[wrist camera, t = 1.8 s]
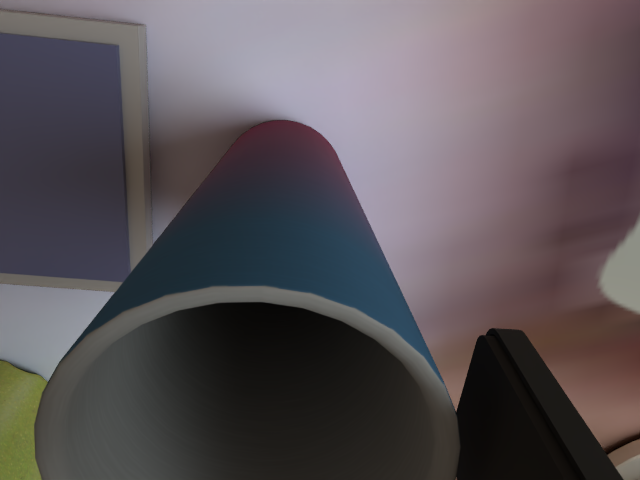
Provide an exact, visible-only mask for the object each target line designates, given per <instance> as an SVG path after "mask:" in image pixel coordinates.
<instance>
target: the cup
mask: <svg viewBox="0 0 640 480" xmlns="http://www.w3.org/2000/svg"><path fill="white" fill-rule="evenodd" d="M34 440H35V459H36V462H37V466H38V469H39V472H40V475H41V479H42V480H455V479H456V475H457V468H458V461H459V455H460V448H461V444H460V436H459V427H458V418H457V414H456V411H455V409H454V406H453V404H452V401H451V399H450V396H449V393H448V391H447V388H446V386H445V384H444V381H443V379H442V377H441V375H440V373H439V371H438V369H437V367H436V364H435V362H434V360H433V358H432V356H431V354H430V352H429V350H428V347H427V345H426V343H425V341H424V339H423V337H422V335H421V333H420V330H419V328H418V326H417V324H416V322H415V320H414V318H413V316H412V313H411V311H410V309H409V307H408V305H407V303H406V301H405V298H404V296H403V294H402V292H401V290H400V288H399V286H398V284H397V281H396V279H395V277H394V275H393V273H392V271H391V269H390V267H389V264H388V262H387V260H386V258H385V256H384V254H383V252H382V250H381V247H380V245H379V243H378V241H377V239H376V237H375V235H374V233H373V230H372V228H371V226H370V224H369V222H368V220H367V218H366V216H365V213H364V211H363V209H362V207H361V205H360V203H359V201H358V199H357V196H356V194H355V192H354V190H353V188H352V186H351V184H350V181H349V179H348V177H347V175H346V173H345V171H344V169H343V167H342V164H341V162H340V160H339V158H338V156H337V154H336V152H335V150H334V149H333V147H332V146H331V144H330V143H329V142H328V141H327V140H326V139H325V138H324V137H323V136H322V135H321V134H320V133H318V132H317V131H315V130H314V129H312V128H311V127H309V126H306V125H304V124H301V123H298V122H293V121H288V120H275V121H270V122H265V123H262V124H259V125H257V126H255V127H252V128H251V129H249V130H248V131H246V132H245V133H244V134H242V135H241V136H240V137H239V138H238V139H237V140H236V142H235V143H234V144H233V145H232V146H231V148H230V149H229V150H228V151H227V153H226V154H225V155H224V156H223V158H222V159H221V160H220V161H219V163H218V164H217V165H216V166H215V168H214V169H213V170H212V171H211V173H210V174H209V175H208V176H207V178H206V179H205V180H204V181H203V183H202V184H201V185H200V186H199V188H198V189H197V190H196V191H195V193H194V194H193V195H192V196H191V198H190V199H189V200H188V201H187V203H186V204H185V205H184V206H183V208H182V209H181V210H180V211H179V213H178V214H177V215H176V217H175V218H174V219H173V220H172V222H171V223H170V224H169V225H168V227H167V228H166V229H165V230H164V232H163V233H162V234H161V235H160V237H159V238H158V239H157V240H156V242H155V243H154V244H153V245H152V247H151V248H150V249H149V250H148V252H147V253H146V254H145V255H144V257H143V258H142V259H141V260H140V262H139V263H138V264H137V265H136V267H135V268H134V269H133V270H132V272H131V273H130V274H129V275H128V277H127V278H126V279H125V280H124V282H123V283H122V284H121V285H120V287H119V288H118V289H117V291H116V292H115V293H114V294H113V296H112V297H111V298H110V299H109V301H108V302H107V303H106V304H105V306H104V307H103V308H102V309H101V311H100V312H99V313H98V314H97V316H96V317H95V318H94V319H93V321H92V322H91V323H90V324H89V326H88V327H87V328H86V329H85V331H84V332H83V333H82V334H81V336H80V337H79V338H78V339H77V341H76V342H75V343H74V344H73V346H72V347H71V348H70V349H69V351H68V352H67V353H66V354H65V356H64V357H63V358H62V359H61V361H60V362H59V364H58V366H57V367H56V369H55V371H54V373H53V374H52V376H51V378H50V380H49V381H48V383H47V385H46V387H45V389H44V390H43V392H42V395H41V399H40V403H39V407H38V411H37V415H36V419H35V423H34Z"/></svg>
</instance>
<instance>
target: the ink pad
mask: <svg viewBox="0 0 640 480" xmlns="http://www.w3.org/2000/svg"><path fill="white" fill-rule="evenodd" d="M152 245H153V237H152V205H151V173H150V141H149V109H148V77H147V45H146V25H141V24H132V23H123V22H114V21H105V20H95V19H86V18H77V17H68V16H59V15H50V14H40V13H31V12H22V11H13V10H4V9H0V284H14V285H27V286H41V287H54V288H68V289H82V290H95V291H109V292H116V291H117V289H118V288H119V287H120V285H121V284H122V283H123V282H124V280H125V279H126V278H127V277H128V275H129V274H130V273H131V272H132V270H133V269H134V268H135V267H136V265H137V264H138V263H139V262H140V260H141V259H142V258H143V257H144V255H145V254H146V253H147V252H148V250H149V249H150V248H151V247H152Z"/></svg>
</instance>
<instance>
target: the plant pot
mask: <svg viewBox="0 0 640 480" xmlns="http://www.w3.org/2000/svg"><path fill="white" fill-rule="evenodd" d="M47 383H48V382H47V381H46V380H45V379H44V378H42V377H41V376H39V375H37V374H31V373H27V372H25V371H22V370H20V369H17V368H16V367H14V366H12V365H11V364H10V363H9V362H6V361H0V480H42V479H41V475H40V472H39V469H38V466H37V462H36V459H35V440H34V423H35V419H36V415H37V411H38V407H39V403H40V399H41V395H42V392H43V390H44V389H45V387H46V385H47Z"/></svg>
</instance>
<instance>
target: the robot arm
mask: <svg viewBox="0 0 640 480" xmlns="http://www.w3.org/2000/svg"><path fill="white" fill-rule="evenodd" d="M456 414H457V418H458V427H459V436H460V444H461V448H460V455H459V461H458V468H457V475H456V477H457V480H640V439H638V440H635V441H632V442H630V443H628V444H626V445H624V446H622V447H620V448H618V449H616V450H615V451H613V452H611V453H610V454H608V455H607V454H606V453H605V451H604V450H603V448H602V447H601V445H600V444H599V442H598V441H597V439H596V438H595V437H594V435H593V434H592V432H591V431H590V429H589V428H588V426H587V425H586V423H585V422H584V420H583V419H582V417H581V416H580V414H579V413H578V411H577V410H576V408H575V407H574V406H573V404H572V403H571V401H570V400H569V398H568V397H567V395H566V394H565V392H564V391H563V389H562V388H561V386H560V385H559V383H558V382H557V380H556V379H555V377H554V376H553V375H552V373H551V372H550V370H549V369H548V367H547V366H546V364H545V363H544V361H543V360H542V358H541V357H540V355H539V354H538V352H537V351H536V349H535V348H534V346H533V345H532V343H531V342H530V341H529V339H528V338H527V336H526V335H525V333H524V332H523V331H521V330H513V329H496V328H492V329H489V331H488V332H487V334H486V335H481V336H479V338H478V339H477V342H476V345H475V349H474V352H473V356H472V359H471V363H470V366H469V370H468V373H467V377H466V380H465V384H464V387H463V391H462V394H461V398H460V401H459V405H458V408H457V412H456Z"/></svg>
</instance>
